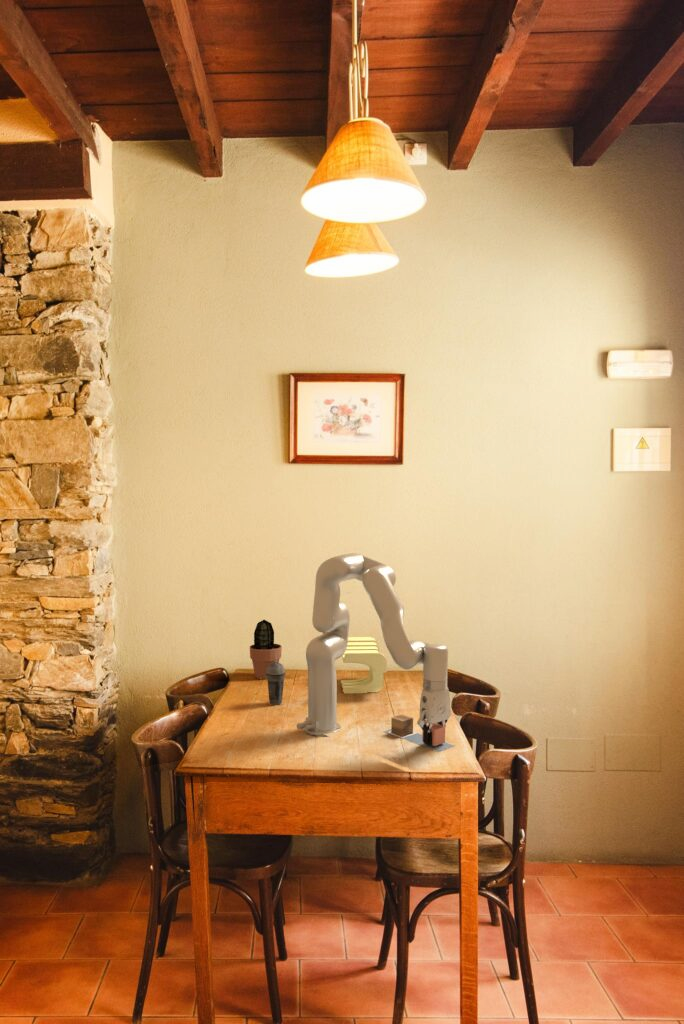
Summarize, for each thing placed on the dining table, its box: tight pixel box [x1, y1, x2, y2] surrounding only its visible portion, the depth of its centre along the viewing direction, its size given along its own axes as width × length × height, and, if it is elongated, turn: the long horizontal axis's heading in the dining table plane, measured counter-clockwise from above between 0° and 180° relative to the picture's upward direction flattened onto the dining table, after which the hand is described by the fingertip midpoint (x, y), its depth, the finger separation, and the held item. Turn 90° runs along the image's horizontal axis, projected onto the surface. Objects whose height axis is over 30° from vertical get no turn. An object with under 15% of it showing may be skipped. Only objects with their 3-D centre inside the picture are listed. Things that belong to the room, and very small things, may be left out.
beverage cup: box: [266, 651, 286, 706], centre depth 269 cm, size 7×7×20 cm
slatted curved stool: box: [340, 636, 388, 694], centre depth 291 cm, size 30×16×18 cm, turn 4°
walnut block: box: [390, 714, 414, 737], centre depth 235 cm, size 5×5×5 cm
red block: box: [422, 723, 446, 746], centre depth 224 cm, size 5×5×5 cm
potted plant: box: [249, 619, 283, 680], centre depth 307 cm, size 14×14×25 cm
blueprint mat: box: [383, 729, 455, 753], centre depth 229 cm, size 8×24×1 cm, turn 42°
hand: (433, 741), depth 224 cm, fingers closed on red block, 4 cm apart
